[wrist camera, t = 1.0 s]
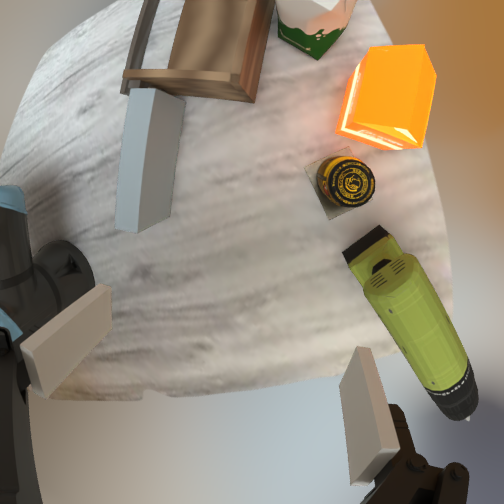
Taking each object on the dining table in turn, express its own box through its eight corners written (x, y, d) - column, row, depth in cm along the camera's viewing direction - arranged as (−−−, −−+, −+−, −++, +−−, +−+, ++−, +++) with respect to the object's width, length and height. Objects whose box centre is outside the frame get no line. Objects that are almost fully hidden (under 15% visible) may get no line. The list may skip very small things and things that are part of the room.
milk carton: (350, 28, 35) (381, -41, 16) (319, 69, 38) (335, 9, 19) (301, 0, 35) (301, -79, 16) (268, 39, 38) (249, -32, 19)
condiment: (348, 146, 41) (367, 142, 30) (372, 199, 43) (398, 214, 31) (303, 167, 43) (306, 170, 31) (328, 220, 44) (340, 241, 33)
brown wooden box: (130, 99, 43) (82, 86, 30) (156, -3, 36) (120, -36, 24) (253, 109, 41) (236, 91, 29) (275, -2, 35) (268, -47, 23)
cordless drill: (434, 318, 47) (499, 415, 23) (402, 341, 49) (449, 448, 25) (369, 210, 43) (443, 270, 19) (332, 239, 45) (367, 325, 21)
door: (143, 211, 48) (107, 227, 38) (158, 100, 42) (122, 88, 32) (169, 216, 48) (137, 233, 37) (186, 102, 42) (155, 88, 32)
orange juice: (397, 96, 38) (461, 62, 19) (384, 150, 40) (446, 148, 21) (347, 78, 38) (383, 26, 19) (333, 133, 41) (363, 115, 22)
